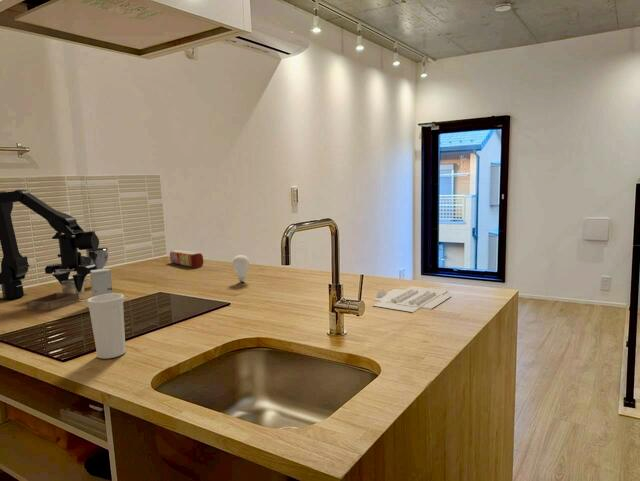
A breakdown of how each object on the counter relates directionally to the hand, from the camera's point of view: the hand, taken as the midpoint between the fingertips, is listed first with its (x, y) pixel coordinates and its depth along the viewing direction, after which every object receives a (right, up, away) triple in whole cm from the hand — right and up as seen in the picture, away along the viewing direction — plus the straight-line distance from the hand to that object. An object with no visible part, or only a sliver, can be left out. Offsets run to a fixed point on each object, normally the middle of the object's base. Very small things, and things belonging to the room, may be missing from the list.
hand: (73, 291), depth 168 cm
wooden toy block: (0, -2, 0) cm, 2 cm away
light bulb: (+61, +2, +11) cm, 62 cm away
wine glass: (+3, +1, +15) cm, 15 cm away
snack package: (+26, +7, +53) cm, 60 cm away
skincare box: (+18, -3, -14) cm, 23 cm away
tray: (+122, -1, -21) cm, 124 cm away
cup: (+42, -9, -59) cm, 73 cm away
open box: (0, -3, -12) cm, 12 cm away
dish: (-6, +1, +16) cm, 17 cm away
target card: (+6, -2, -3) cm, 7 cm away
